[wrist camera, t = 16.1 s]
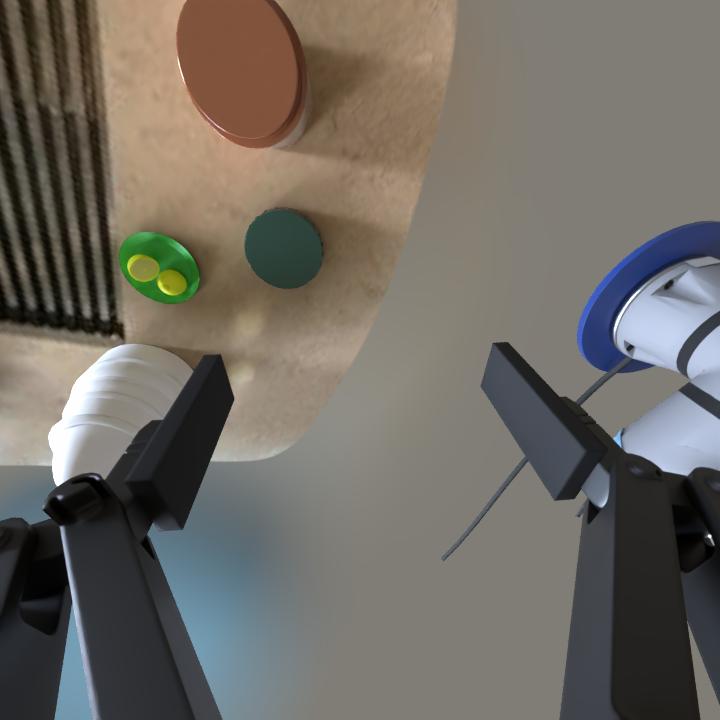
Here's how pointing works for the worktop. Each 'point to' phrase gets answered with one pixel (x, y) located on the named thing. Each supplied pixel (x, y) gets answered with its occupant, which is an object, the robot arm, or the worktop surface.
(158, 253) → the lemons on plate
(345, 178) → the worktop surface
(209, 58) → the jam jar
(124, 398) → the honey pot
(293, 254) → the jar lid
